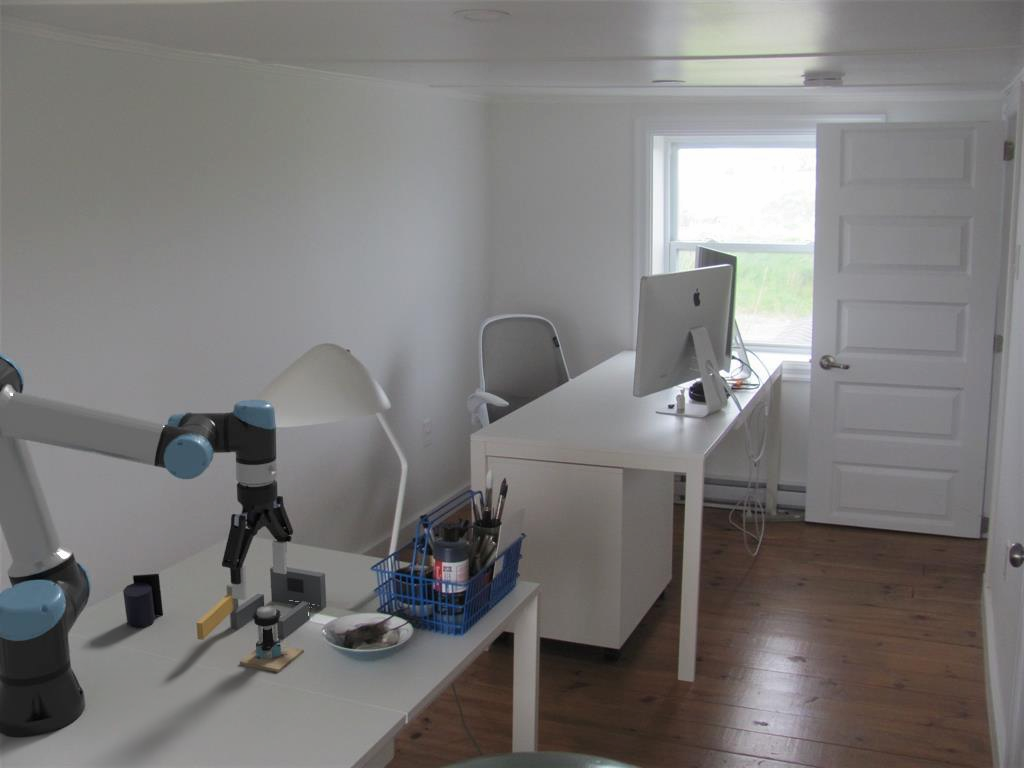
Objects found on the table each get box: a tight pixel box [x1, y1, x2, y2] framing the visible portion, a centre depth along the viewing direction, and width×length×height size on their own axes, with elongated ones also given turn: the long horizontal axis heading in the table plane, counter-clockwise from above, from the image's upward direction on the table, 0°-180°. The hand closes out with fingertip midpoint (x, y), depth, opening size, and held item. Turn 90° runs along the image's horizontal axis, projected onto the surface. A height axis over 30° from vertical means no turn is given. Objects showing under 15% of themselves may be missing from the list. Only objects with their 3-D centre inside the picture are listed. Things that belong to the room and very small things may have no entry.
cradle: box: [229, 566, 327, 640], centre depth 221 cm, size 17×14×8 cm
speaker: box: [122, 573, 164, 629], centre depth 218 cm, size 8×6×10 cm
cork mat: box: [239, 644, 305, 673], centre depth 203 cm, size 9×9×1 cm
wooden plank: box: [196, 583, 240, 640], centre depth 209 cm, size 16×2×5 cm, turn 170°
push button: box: [253, 605, 290, 659], centre depth 202 cm, size 7×5×10 cm
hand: (260, 585), depth 198 cm, fingers open, 13 cm apart
